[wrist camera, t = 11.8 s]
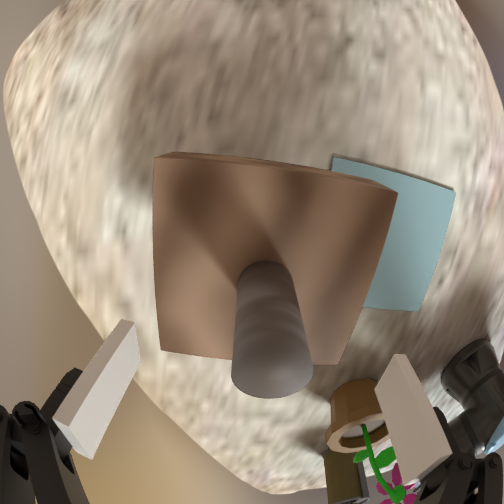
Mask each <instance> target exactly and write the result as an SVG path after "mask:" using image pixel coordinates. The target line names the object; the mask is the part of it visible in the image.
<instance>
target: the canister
mask: <svg viewBox="0 0 504 504" xmlns="http://www.w3.org/2000/svg"><path fill="white" fill-rule="evenodd" d="M358 452H360V451H358ZM358 452H351V453H342V452H336V451H332V450H331V449H328V450H326V451H325V452H324V453H323V458H324V466H325V475H326V484H327V493H328V504H363V503H365V502H367V501H368V500H370V497H369V492H368V487H367V481H366V476H365V471H364V466H363V462H362V461H360V462H357V463H353V459H354V457H355V455H356V454H357V453H358Z"/></svg>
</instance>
